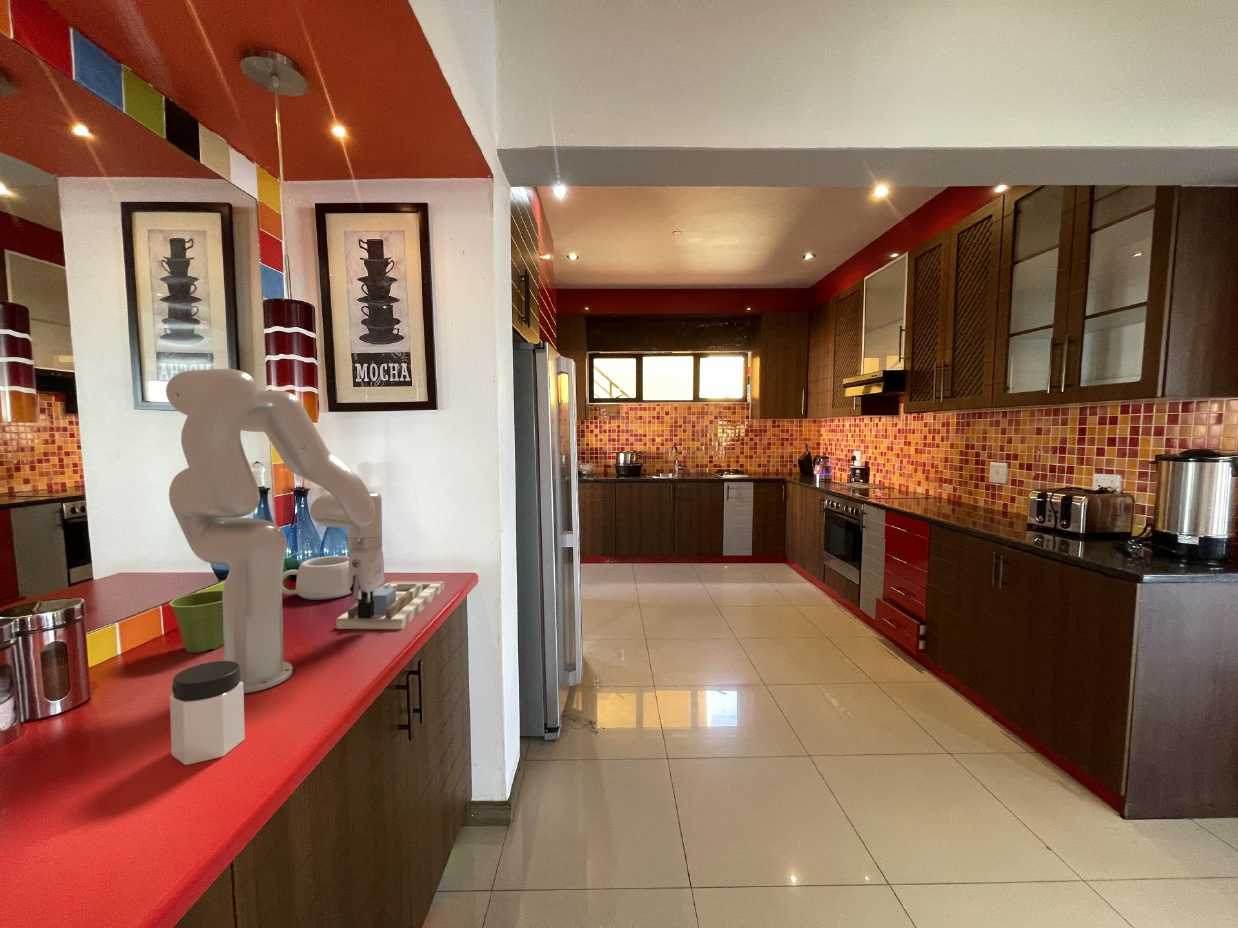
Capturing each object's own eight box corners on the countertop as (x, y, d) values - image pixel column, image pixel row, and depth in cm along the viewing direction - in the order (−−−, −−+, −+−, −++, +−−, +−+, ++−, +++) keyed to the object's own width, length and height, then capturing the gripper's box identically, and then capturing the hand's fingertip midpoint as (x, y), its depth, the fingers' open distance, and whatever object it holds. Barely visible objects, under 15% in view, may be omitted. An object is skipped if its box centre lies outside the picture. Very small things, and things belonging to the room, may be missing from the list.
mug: (351, 582, 173) (351, 552, 172) (365, 595, 160) (365, 562, 159) (273, 594, 159) (272, 561, 158) (281, 609, 146) (280, 573, 146)
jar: (205, 731, 86) (203, 658, 86) (255, 732, 86) (253, 659, 86) (157, 765, 77) (154, 684, 77) (212, 766, 77) (210, 685, 77)
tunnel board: (401, 628, 132) (401, 609, 132) (336, 628, 132) (336, 608, 132) (443, 589, 166) (443, 573, 166) (392, 588, 166) (391, 573, 166)
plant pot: (178, 642, 122) (177, 593, 122) (241, 633, 128) (240, 587, 127) (163, 661, 112) (161, 609, 111) (232, 652, 117) (231, 601, 117)
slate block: (386, 614, 135) (386, 595, 135) (362, 614, 135) (362, 595, 135) (395, 607, 141) (395, 588, 141) (372, 607, 141) (372, 588, 141)
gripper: (367, 549, 122) (368, 628, 123) (393, 537, 137) (393, 607, 138) (333, 549, 122) (335, 628, 123) (363, 536, 137) (364, 607, 138)
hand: (366, 617), depth 130 cm, fingers closed
